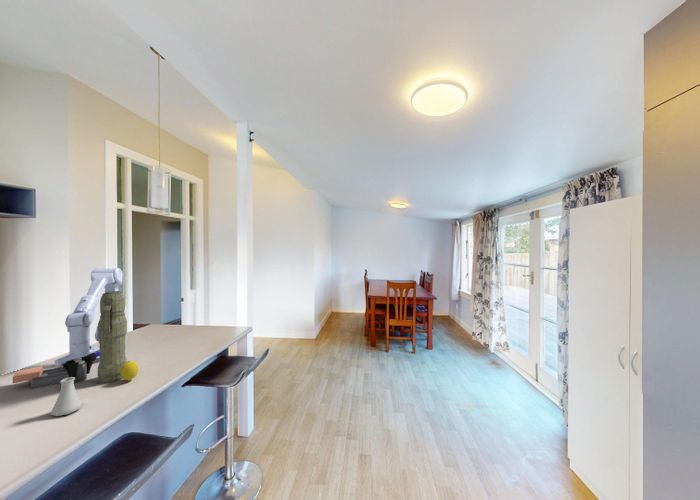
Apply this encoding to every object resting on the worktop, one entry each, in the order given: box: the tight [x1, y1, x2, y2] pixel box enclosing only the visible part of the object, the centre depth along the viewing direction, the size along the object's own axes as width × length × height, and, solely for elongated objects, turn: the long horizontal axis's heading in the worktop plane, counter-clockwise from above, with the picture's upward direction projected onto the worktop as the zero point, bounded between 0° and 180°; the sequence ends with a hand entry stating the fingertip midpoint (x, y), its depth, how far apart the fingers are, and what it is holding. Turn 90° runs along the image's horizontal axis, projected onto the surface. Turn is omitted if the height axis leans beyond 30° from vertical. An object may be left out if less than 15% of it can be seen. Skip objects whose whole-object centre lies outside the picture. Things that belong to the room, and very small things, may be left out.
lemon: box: [120, 360, 139, 382], centre depth 107 cm, size 6×6×8 cm
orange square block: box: [12, 365, 44, 384], centre depth 104 cm, size 6×6×2 cm
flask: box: [49, 377, 85, 417], centre depth 88 cm, size 7×7×10 cm
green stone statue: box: [97, 290, 128, 385], centre depth 109 cm, size 9×12×35 cm
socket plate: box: [30, 366, 69, 389], centre depth 109 cm, size 12×10×3 cm
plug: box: [74, 360, 88, 383], centre depth 108 cm, size 4×4×7 cm
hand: (79, 376), depth 108 cm, fingers closed on plug, 4 cm apart
